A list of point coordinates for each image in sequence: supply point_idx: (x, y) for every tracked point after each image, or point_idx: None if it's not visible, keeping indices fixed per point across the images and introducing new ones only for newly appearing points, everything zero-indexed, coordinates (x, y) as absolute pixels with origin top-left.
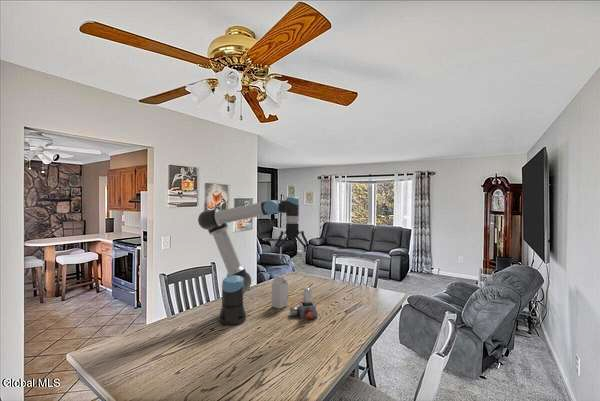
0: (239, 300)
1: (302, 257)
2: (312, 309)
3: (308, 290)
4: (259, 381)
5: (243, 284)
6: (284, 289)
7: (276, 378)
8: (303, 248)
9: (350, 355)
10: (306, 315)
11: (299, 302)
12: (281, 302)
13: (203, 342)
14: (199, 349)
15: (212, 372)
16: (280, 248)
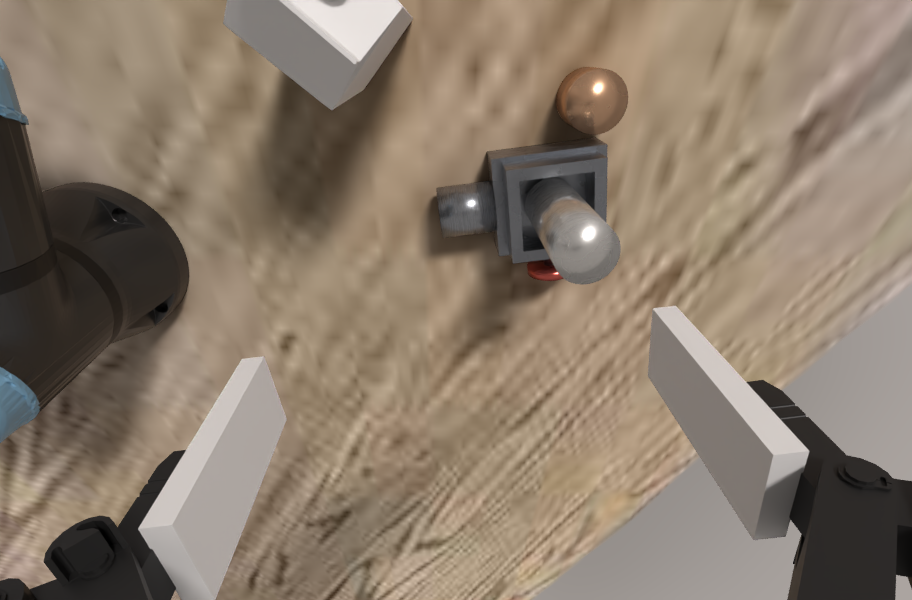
0: (92, 358)
1: (654, 348)
2: None
3: (586, 282)
4: (364, 595)
5: (11, 339)
6: (378, 51)
7: (405, 587)
8: (754, 520)
9: (630, 509)
10: (531, 275)
11: (505, 171)
12: (367, 80)
13: (103, 453)
14: (119, 490)
15: (230, 574)
16: (194, 594)
